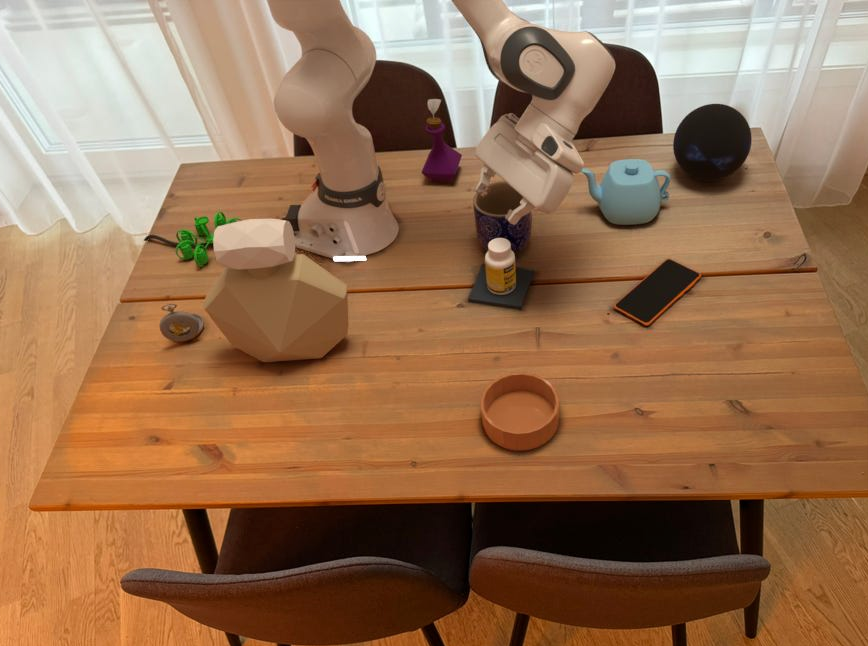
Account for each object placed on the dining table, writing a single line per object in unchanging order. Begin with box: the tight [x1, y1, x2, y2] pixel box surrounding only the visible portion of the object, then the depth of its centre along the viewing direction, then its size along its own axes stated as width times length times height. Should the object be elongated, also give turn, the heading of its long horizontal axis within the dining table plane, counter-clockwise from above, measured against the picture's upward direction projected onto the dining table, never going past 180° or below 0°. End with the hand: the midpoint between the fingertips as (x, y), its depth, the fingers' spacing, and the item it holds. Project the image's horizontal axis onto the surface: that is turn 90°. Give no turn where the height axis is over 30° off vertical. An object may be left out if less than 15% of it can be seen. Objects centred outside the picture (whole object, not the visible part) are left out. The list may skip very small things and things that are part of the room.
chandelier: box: [175, 211, 243, 267], centre depth 153 cm, size 15×15×7 cm
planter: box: [472, 181, 533, 255], centre depth 143 cm, size 11×11×11 cm
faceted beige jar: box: [202, 218, 349, 363], centre depth 123 cm, size 12×24×28 cm, turn 91°
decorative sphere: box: [672, 103, 753, 182], centre depth 151 cm, size 15×15×15 cm
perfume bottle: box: [421, 98, 463, 183], centre depth 158 cm, size 8×8×18 cm
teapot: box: [580, 158, 671, 226], centre depth 147 cm, size 13×11×18 cm
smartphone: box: [613, 258, 702, 327], centre depth 134 cm, size 8×17×1 cm, turn 135°
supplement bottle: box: [484, 238, 517, 295], centre depth 134 cm, size 5×5×10 cm
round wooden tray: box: [480, 371, 560, 452], centre depth 117 cm, size 12×12×4 cm
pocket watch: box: [159, 303, 205, 342], centre depth 135 cm, size 7×8×10 cm
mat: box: [467, 262, 535, 310], centre depth 139 cm, size 10×10×1 cm
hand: (494, 207), depth 124 cm, fingers open, 8 cm apart
